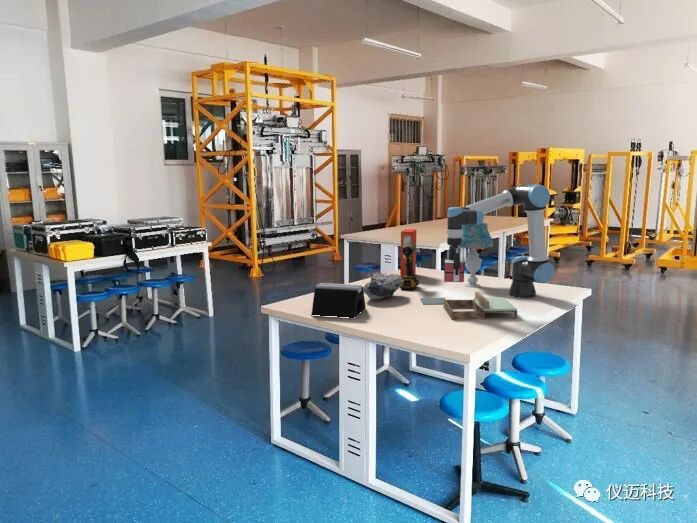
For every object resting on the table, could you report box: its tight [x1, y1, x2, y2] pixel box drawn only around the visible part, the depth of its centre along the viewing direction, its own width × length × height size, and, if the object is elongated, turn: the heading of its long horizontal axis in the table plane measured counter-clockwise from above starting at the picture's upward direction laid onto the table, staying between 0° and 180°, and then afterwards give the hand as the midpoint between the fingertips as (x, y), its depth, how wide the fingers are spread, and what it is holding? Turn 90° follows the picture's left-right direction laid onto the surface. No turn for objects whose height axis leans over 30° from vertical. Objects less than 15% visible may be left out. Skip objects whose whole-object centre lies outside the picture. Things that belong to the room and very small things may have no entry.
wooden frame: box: [443, 299, 518, 321], centre depth 289 cm, size 32×25×4 cm
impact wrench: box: [399, 242, 420, 291], centre depth 349 cm, size 14×21×28 cm, turn 163°
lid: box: [473, 291, 518, 312], centre depth 289 cm, size 16×25×4 cm, turn 0°
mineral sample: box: [363, 272, 402, 300], centre depth 323 cm, size 27×19×15 cm
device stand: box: [311, 282, 367, 318], centre depth 294 cm, size 22×22×15 cm
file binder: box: [399, 228, 417, 278], centre depth 387 cm, size 8×17×32 cm, turn 164°
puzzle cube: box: [443, 259, 465, 283], centre depth 295 cm, size 10×10×10 cm
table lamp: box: [458, 221, 494, 288], centre depth 352 cm, size 24×24×40 cm
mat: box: [420, 297, 447, 306], centre depth 316 cm, size 14×14×1 cm
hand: (453, 278), depth 296 cm, fingers closed on puzzle cube, 11 cm apart
